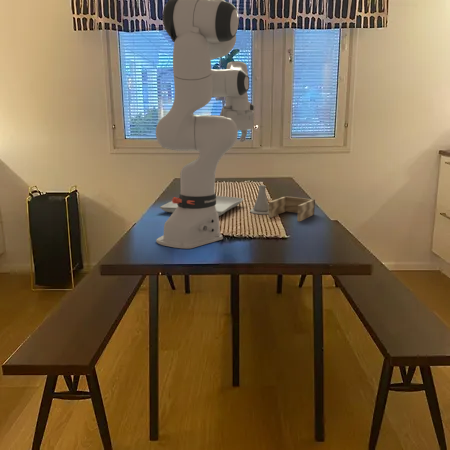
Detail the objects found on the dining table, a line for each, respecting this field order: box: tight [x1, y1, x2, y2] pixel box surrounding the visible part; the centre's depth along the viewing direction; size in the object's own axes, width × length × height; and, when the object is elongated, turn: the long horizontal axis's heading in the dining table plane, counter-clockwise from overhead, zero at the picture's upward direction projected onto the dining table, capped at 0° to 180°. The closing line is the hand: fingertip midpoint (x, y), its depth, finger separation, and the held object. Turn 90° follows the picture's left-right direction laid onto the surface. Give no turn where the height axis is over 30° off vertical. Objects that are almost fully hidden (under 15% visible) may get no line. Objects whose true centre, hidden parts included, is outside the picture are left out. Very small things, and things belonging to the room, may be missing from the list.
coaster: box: [249, 208, 269, 215], centre depth 189 cm, size 10×10×1 cm
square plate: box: [159, 195, 245, 216], centre depth 193 cm, size 27×27×4 cm
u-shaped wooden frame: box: [268, 195, 316, 222], centre depth 181 cm, size 14×13×6 cm
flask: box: [252, 184, 269, 211], centre depth 188 cm, size 7×7×10 cm
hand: (236, 142), depth 183 cm, fingers open, 8 cm apart
